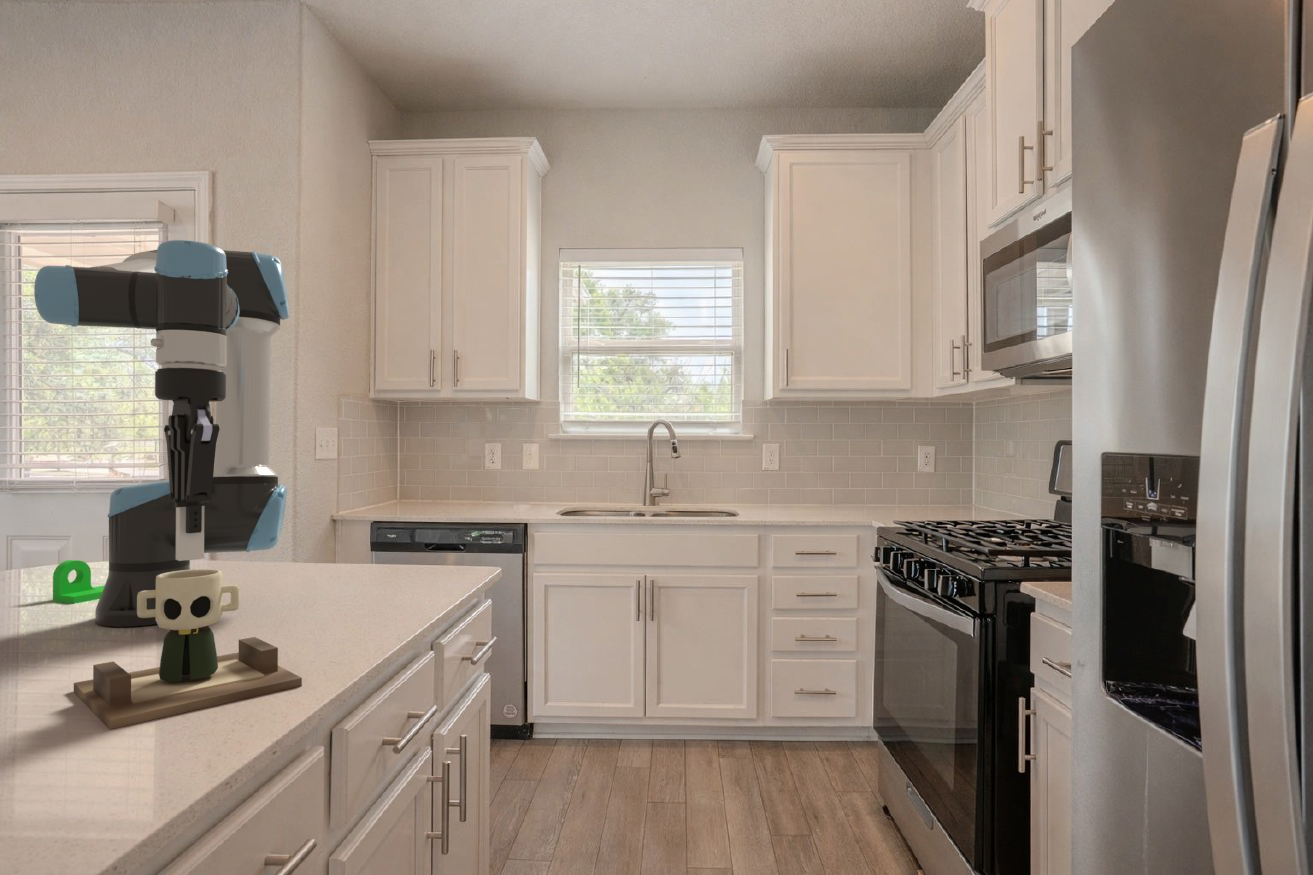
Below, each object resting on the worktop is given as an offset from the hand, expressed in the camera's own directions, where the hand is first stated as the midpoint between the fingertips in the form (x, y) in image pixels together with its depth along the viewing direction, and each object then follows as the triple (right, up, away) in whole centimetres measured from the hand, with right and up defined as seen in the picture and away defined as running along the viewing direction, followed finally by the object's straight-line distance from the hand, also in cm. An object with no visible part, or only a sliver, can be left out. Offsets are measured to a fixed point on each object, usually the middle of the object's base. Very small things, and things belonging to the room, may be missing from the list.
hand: (189, 558), depth 95 cm
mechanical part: (-50, -16, +53) cm, 74 cm away
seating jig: (0, -16, 0) cm, 16 cm away
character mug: (0, -15, 0) cm, 15 cm away
